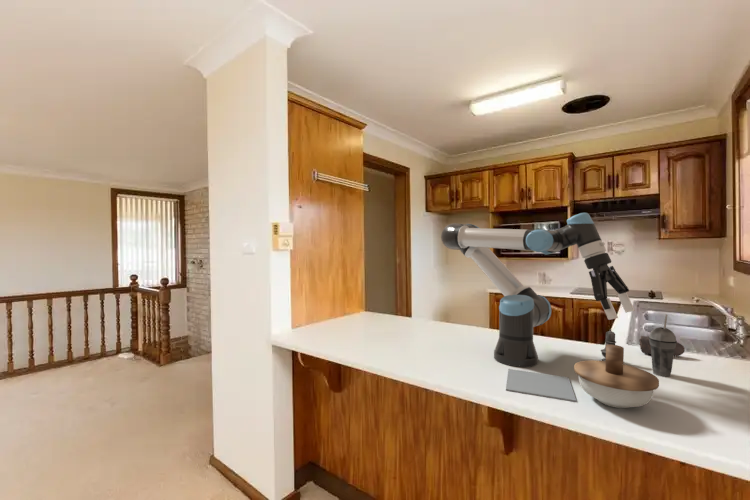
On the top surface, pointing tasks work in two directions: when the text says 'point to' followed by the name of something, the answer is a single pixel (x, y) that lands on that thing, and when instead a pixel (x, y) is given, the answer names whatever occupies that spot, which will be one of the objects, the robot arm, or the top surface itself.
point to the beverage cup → (662, 350)
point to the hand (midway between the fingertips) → (622, 315)
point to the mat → (540, 384)
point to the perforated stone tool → (646, 346)
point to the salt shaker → (608, 342)
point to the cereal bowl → (616, 395)
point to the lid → (616, 372)
